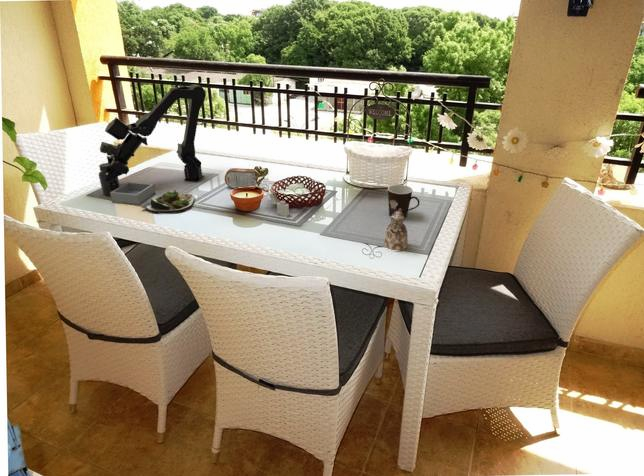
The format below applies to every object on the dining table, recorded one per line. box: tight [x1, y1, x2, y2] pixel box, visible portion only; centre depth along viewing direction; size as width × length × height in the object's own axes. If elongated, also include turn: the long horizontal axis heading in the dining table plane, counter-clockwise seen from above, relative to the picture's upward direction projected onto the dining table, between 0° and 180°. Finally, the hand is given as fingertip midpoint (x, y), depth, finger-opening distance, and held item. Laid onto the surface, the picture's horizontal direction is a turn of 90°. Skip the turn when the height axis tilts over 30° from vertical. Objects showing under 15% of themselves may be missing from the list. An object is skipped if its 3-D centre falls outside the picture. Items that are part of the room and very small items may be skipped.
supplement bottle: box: [98, 162, 121, 197], centre depth 179 cm, size 7×7×12 cm
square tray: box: [110, 181, 156, 206], centre depth 177 cm, size 12×12×4 cm
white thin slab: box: [268, 191, 290, 217], centre depth 162 cm, size 7×2×8 cm, turn 63°
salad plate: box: [141, 189, 195, 215], centre depth 172 cm, size 19×18×5 cm
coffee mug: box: [387, 184, 421, 219], centre depth 159 cm, size 12×9×10 cm
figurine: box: [383, 209, 409, 251], centre depth 140 cm, size 7×7×12 cm
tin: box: [224, 167, 263, 190], centre depth 184 cm, size 15×3×8 cm, turn 84°
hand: (104, 178), depth 178 cm, fingers closed on supplement bottle, 7 cm apart
